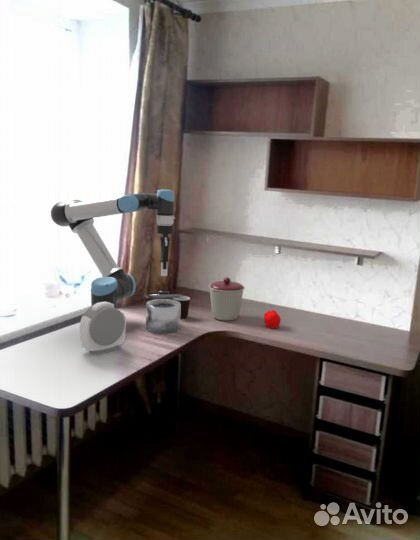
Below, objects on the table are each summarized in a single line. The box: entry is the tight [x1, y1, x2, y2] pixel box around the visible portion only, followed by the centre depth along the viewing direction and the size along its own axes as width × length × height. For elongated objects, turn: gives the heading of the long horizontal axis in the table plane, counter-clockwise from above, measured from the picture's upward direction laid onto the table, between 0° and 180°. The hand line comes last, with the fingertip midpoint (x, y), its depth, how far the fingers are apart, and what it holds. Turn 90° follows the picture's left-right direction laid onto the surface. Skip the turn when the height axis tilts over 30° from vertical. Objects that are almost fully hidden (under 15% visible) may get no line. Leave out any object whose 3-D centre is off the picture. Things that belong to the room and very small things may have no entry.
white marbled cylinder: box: [145, 298, 181, 335], centre depth 236 cm, size 16×18×12 cm
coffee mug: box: [172, 295, 191, 320], centre depth 255 cm, size 12×9×10 cm
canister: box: [208, 277, 246, 322], centre depth 254 cm, size 18×18×21 cm
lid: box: [145, 290, 182, 299], centre depth 234 cm, size 16×16×3 cm
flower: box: [263, 309, 282, 329], centre depth 244 cm, size 8×8×8 cm
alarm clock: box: [79, 301, 127, 356], centre depth 205 cm, size 18×8×20 cm, turn 133°
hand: (164, 275), depth 232 cm, fingers closed
